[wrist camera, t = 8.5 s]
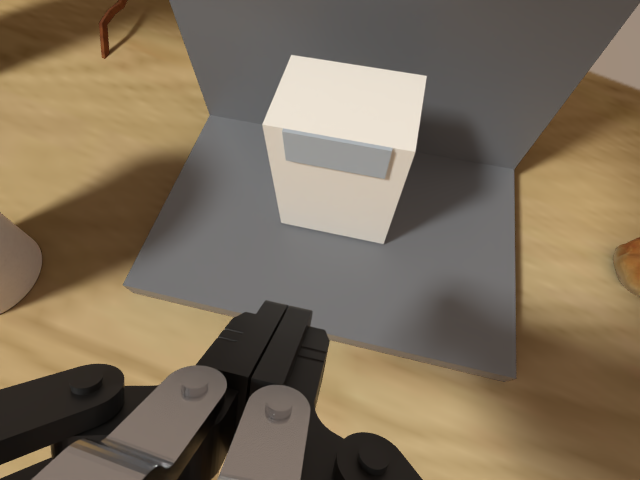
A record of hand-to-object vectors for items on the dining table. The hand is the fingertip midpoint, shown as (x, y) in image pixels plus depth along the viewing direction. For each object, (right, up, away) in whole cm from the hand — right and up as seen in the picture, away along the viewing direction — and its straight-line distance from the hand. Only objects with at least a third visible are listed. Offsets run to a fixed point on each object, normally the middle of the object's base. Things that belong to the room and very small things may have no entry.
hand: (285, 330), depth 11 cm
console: (+3, +6, +16) cm, 17 cm away
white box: (+2, +5, +14) cm, 15 cm away
